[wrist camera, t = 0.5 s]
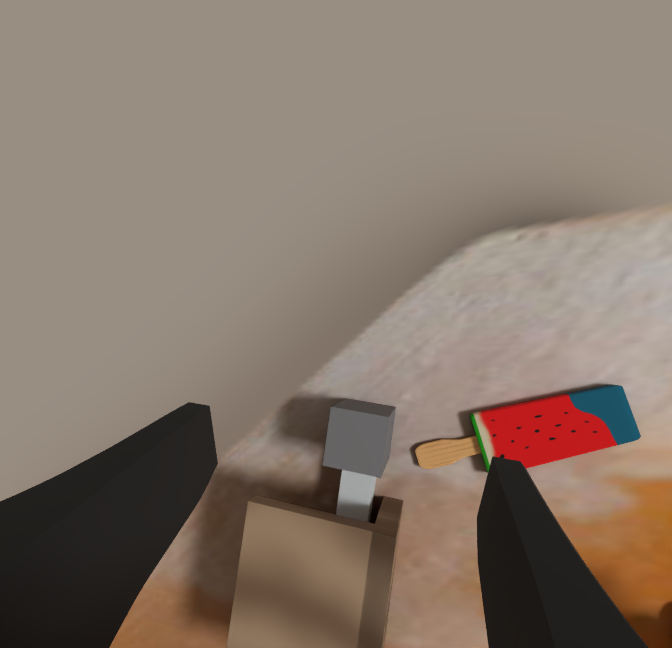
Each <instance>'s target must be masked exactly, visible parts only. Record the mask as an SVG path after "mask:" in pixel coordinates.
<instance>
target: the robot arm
mask: <svg viewBox="0 0 672 648" xmlns="http://www.w3.org/2000/svg"><path fill="white" fill-rule="evenodd" d="M217 464H218V462H217V455H216V448H215V441H214V434H213V427H212V420H211V412H210V406H207V405H201V404H195V403H187V404H185V405H183V406H181V407H179V408H178V409H176V410H174V411H172V412H170V413H169V414H167V415H165V416H164V417H162V418H160V419H158V420H157V421H155V422H154V423H152V424H150V425H149V426H147V427H145V428H143V429H141V430H140V431H138V432H136V433H134V434H133V435H131V436H129V437H128V438H126V439H124V440H122V441H121V442H119V443H117V444H115V445H114V446H112V447H110V448H108V449H106V450H105V451H103V452H101V453H99V454H97V455H95V456H94V457H92V458H90V459H88V460H86V461H84V462H82V463H80V464H78V465H77V466H75V467H73V468H71V469H69V470H67V471H65V472H63V473H61V474H59V475H58V476H55V477H53V478H51V479H49V480H47V481H45V482H43V483H41V484H39V485H37V486H34V487H32V488H30V489H28V490H25V491H23V492H21V493H19V494H17V495H15V496H12V497H10V498H7V499H5V500H3V501H0V648H109V647H110V645H111V643H112V641H113V639H114V638H115V636H116V634H117V632H118V630H119V628H120V627H121V625H122V623H123V621H124V619H125V617H126V615H127V614H128V612H129V610H130V608H131V606H132V604H133V603H134V601H135V599H136V597H137V596H138V594H139V592H140V591H141V589H142V587H143V586H144V584H145V583H146V581H147V579H148V578H149V576H150V575H151V573H152V572H153V570H154V569H155V567H156V566H157V564H158V563H159V561H160V560H161V558H162V557H163V555H164V554H165V552H166V551H167V549H168V548H169V546H170V545H171V543H172V542H173V540H174V539H175V537H176V536H177V534H178V533H179V531H180V529H181V528H182V526H183V525H184V523H185V522H186V520H187V519H188V517H189V516H190V514H191V513H192V511H193V510H194V508H195V506H196V505H197V503H198V502H199V500H200V498H201V497H202V495H203V493H204V491H205V489H206V487H207V485H208V483H209V481H210V479H211V477H212V474H213V472H214V470H215V468H216V466H217ZM477 547H478V567H479V575H480V583H481V591H482V599H483V607H484V614H485V622H486V629H487V637H488V645H489V648H648V646H647V645H646V644H645V643H644V641H643V640H642V639H641V638H640V637H639V635H638V634H637V633H636V631H635V630H634V629H633V628H632V626H631V625H630V624H629V622H628V621H627V620H626V619H625V617H624V616H623V615H622V613H621V612H620V611H619V609H618V608H617V607H616V605H615V604H614V603H613V601H612V600H611V599H610V597H609V596H608V595H607V593H606V592H605V590H604V589H603V588H602V586H601V585H600V584H599V582H598V581H597V580H596V578H595V577H594V575H593V574H592V573H591V571H590V570H589V568H588V567H587V565H586V564H585V562H584V561H583V560H582V558H581V557H580V555H579V554H578V552H577V551H576V549H575V548H574V546H573V545H572V543H571V542H570V540H569V539H568V537H567V536H566V534H565V533H564V531H563V530H562V528H561V526H560V525H559V523H558V522H557V520H556V519H555V517H554V515H553V514H552V512H551V511H550V509H549V507H548V506H547V504H546V502H545V501H544V499H543V497H542V496H541V494H540V492H539V491H538V489H537V487H536V486H535V484H534V482H533V480H532V479H531V477H530V475H529V473H528V472H527V470H526V468H525V466H524V465H523V464H522V463H521V461H517V460H511V459H506V458H500V457H494V456H492V460H491V464H490V468H489V472H488V476H487V480H486V484H485V488H484V491H483V495H482V499H481V503H480V507H479V511H478V515H477Z"/></svg>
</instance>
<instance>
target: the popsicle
mask: <svg viewBox="0 0 672 648" xmlns="http://www.w3.org/2000/svg"><path fill="white" fill-rule="evenodd" d="M470 418H471V421H472V425H473V428H474V431H475V434H476V435H475V436H471V437H466V438H462V439H440V440H436V441H432V442H427V443H423V444H421V445H419V446H418V447H417V448H416V450H415V452H416V456H417V459H418V463H419V466H420V467H422V468H425V469H431V468H436V467H440V466H445V465H449V464H452V463H454V462H455V461H457V460H459V459H461V458H463V457H466V456H471V455H475V454H480V453H482V457H483V460H484V463H485V466H486V469H487V472H489V468H490V464H491V460H492V456H494V457H500V458H506V459H511V460H517V461H521V463H522V464H523V465H524V466H525V468H529V467H533V466H537V465H541V464H545V463H549V462H553V461H557V460H561V459H565V458H568V457H572V456H576V455H580V454H584V453H588V452H592V451H596V450H600V449H604V448H608V447H612V446H616V445H620V444H624V443H628V442H632V441H635V440H638V439H639V438H640V437H641V436H640V433H639V430H638V428H637V425H636V422H635V419H634V417H633V414H632V411H631V409H630V406H629V403H628V400H627V398H626V395H625V392H624V390H623V387H622V386H619V385H606V386H601V387H596V388H591V389H586V390H581V391H577V392H572V393H567V394H562V395H557V396H552V397H547V398H542V399H537V400H532V401H527V402H523V403H518V404H513V405H508V406H503V407H498V408H493V409H488V410H483V411H478V412H474V413H472V414H470Z"/></svg>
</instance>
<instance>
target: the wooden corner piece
mask: <svg viewBox="0 0 672 648" xmlns="http://www.w3.org/2000/svg"><path fill="white" fill-rule="evenodd" d="M402 505H403V501H402V500H398V499H393V498H389V497H383V501H382V504H381V507H380V510H379V513H378V516H377V519H376V522H375V524H373V523H369V522H365V521H361V520H357V519H352V518H348V517H344V516H340V515H336V514H332V513H327V512H323V511H319V510H315V509H311V508H307V507H303V506H298V505H294V504H290V503H286V502H282V501H278V500H273V499H269V498H265V497H261V496H257V495H255V496H254V497H253V498H251V499H250V500H249V501H248V505H247V512H246V519H245V525H244V532H243V539H242V546H241V552H240V559H239V566H238V573H237V580H236V586H235V593H234V600H233V607H232V614H231V620H230V627H229V634H228V641H227V647H226V648H384V643H385V635H386V627H387V620H388V612H389V605H390V597H391V589H392V582H393V574H394V566H395V559H396V551H397V543H398V536H399V528H400V520H401V513H402Z"/></svg>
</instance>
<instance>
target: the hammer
mask: <svg viewBox="0 0 672 648" xmlns="http://www.w3.org/2000/svg"><path fill="white" fill-rule="evenodd" d="M395 409H396V407H393V406H387V405H381V404H375V403H369V402H364V401H358V400H352V399H345V400H343V401H341V402H339V403H337V404H335V405H333V406H331V409H330V416H329V423H328V430H327V437H326V444H325V452H324V459H323V466H327V467H332V468H336V469H341V470H342V474H341V481H340V488H339V495H338V503H337V510H336V515H340V516H344V517H348V518H352V519H357V520H361V521H365V522H369V523H370V519H371V511H372V504H373V497H374V489H375V482H376V477H379V478H381V476H382V474H383V471H384V469H385V466H386V464H387V462H388V459H389V454H390V447H391V439H392V432H393V424H394V416H395Z"/></svg>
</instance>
